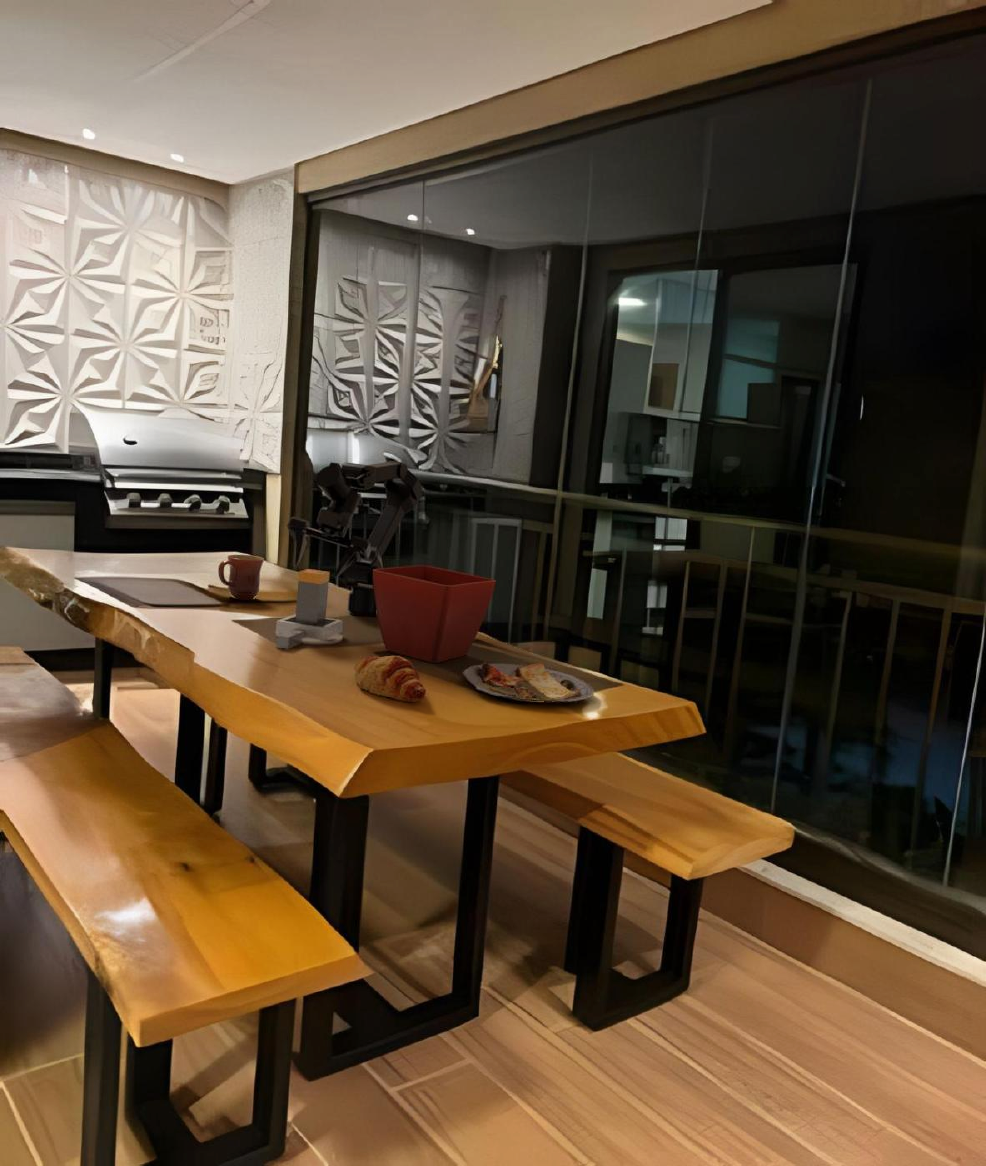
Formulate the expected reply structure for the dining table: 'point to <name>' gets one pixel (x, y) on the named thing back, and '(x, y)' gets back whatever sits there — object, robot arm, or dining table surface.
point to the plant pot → (430, 610)
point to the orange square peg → (312, 597)
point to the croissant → (390, 678)
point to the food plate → (529, 681)
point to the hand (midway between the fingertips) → (315, 571)
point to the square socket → (307, 632)
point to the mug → (242, 575)
